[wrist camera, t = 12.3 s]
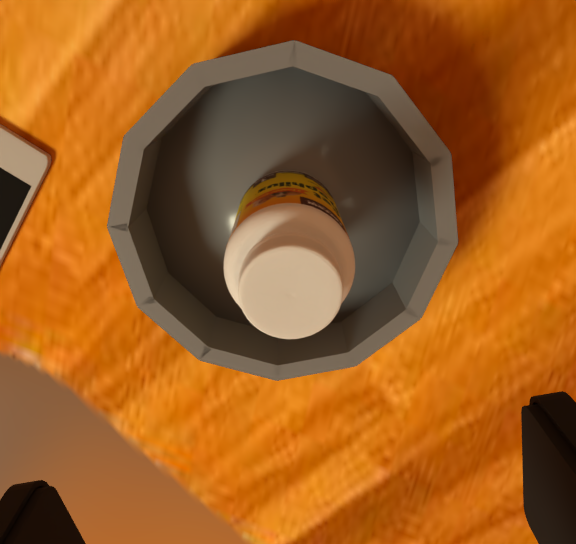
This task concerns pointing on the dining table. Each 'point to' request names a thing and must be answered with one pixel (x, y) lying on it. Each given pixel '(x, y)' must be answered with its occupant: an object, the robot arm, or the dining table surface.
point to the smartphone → (18, 182)
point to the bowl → (267, 159)
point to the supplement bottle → (289, 256)
